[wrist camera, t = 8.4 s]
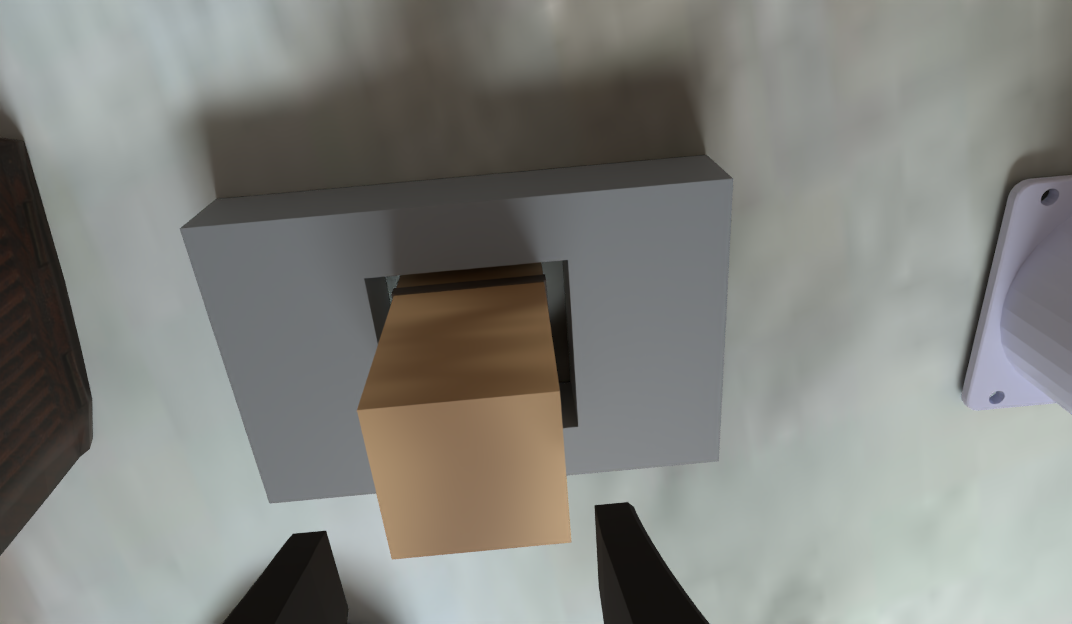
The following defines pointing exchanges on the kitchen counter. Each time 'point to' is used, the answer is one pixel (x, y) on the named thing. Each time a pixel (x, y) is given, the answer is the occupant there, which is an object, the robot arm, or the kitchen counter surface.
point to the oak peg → (467, 415)
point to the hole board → (465, 243)
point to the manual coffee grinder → (34, 354)
